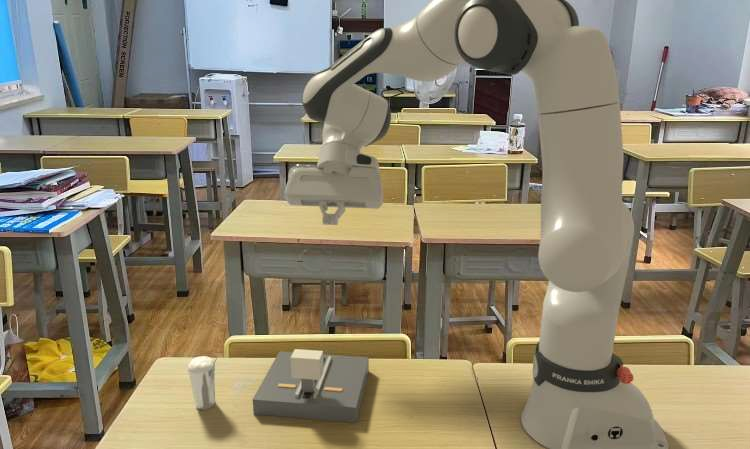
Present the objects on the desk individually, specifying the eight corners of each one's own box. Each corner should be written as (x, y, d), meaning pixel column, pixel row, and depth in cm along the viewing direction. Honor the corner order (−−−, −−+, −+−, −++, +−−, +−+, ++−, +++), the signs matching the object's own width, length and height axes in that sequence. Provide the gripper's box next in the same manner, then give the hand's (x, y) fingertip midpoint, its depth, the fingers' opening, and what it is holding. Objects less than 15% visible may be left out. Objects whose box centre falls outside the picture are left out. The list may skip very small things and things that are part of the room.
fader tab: (323, 385, 97) (323, 350, 95) (320, 395, 94) (319, 359, 92) (296, 383, 97) (294, 349, 95) (292, 392, 95) (290, 357, 92)
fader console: (368, 370, 108) (368, 354, 107) (356, 422, 92) (355, 404, 91) (280, 364, 110) (279, 348, 109) (253, 414, 95) (252, 396, 93)
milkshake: (215, 414, 94) (210, 364, 91) (187, 410, 95) (181, 360, 92) (227, 399, 99) (223, 350, 96) (200, 395, 100) (195, 347, 97)
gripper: (287, 155, 114) (275, 213, 107) (384, 158, 111) (378, 218, 105) (293, 172, 119) (282, 228, 113) (386, 175, 117) (381, 232, 110)
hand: (329, 223), depth 109 cm, fingers closed
